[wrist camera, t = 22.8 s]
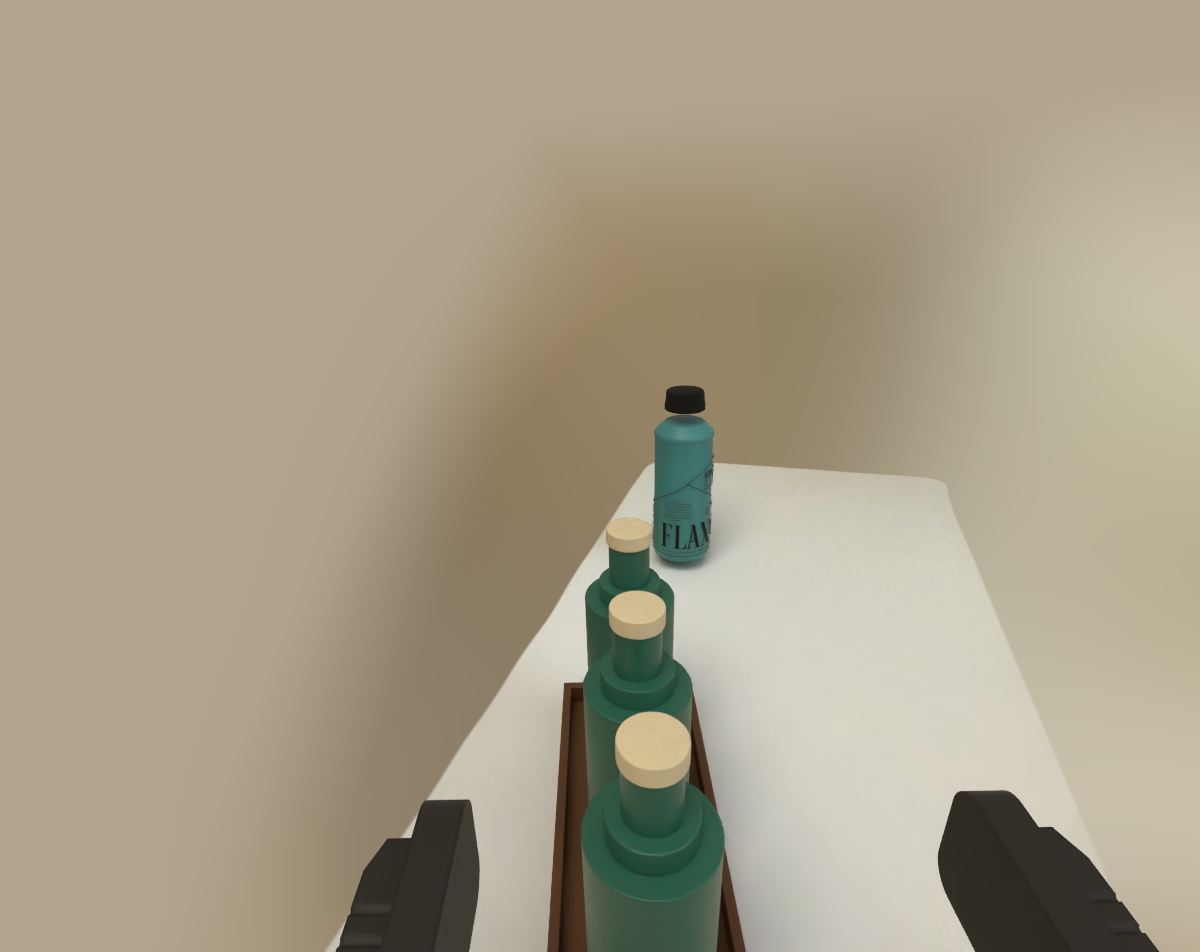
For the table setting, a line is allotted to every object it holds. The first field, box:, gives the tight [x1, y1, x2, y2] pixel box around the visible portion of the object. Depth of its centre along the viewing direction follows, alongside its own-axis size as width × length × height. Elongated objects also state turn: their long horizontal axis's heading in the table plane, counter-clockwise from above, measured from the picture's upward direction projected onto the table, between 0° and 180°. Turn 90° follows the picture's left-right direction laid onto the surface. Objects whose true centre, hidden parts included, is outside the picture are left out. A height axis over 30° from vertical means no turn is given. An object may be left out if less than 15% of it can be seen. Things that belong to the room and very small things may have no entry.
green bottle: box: [581, 712, 724, 952], centre depth 28 cm, size 6×6×18 cm
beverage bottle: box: [652, 386, 714, 562], centre depth 68 cm, size 6×7×20 cm
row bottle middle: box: [583, 591, 693, 805], centre depth 36 cm, size 6×6×18 cm
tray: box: [547, 682, 746, 952], centre depth 39 cm, size 27×10×2 cm, turn 0°
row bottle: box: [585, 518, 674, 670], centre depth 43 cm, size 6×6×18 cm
